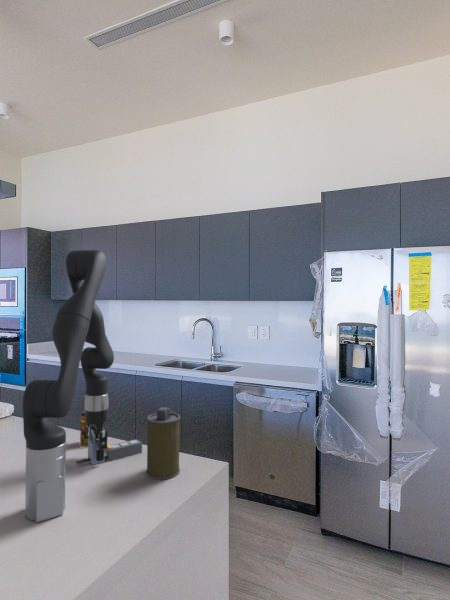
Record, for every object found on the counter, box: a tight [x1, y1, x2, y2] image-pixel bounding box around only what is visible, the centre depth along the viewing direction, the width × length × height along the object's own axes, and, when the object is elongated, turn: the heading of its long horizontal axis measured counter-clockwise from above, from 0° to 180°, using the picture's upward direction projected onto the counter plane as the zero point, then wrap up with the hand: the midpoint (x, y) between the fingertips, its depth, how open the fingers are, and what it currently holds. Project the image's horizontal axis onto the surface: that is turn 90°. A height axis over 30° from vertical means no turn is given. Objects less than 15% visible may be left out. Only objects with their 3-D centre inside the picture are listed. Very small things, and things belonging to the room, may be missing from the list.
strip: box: [104, 439, 143, 462], centre depth 133 cm, size 4×12×4 cm, turn 128°
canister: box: [145, 406, 181, 480], centre depth 120 cm, size 11×10×20 cm
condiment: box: [76, 410, 88, 449], centre depth 144 cm, size 7×8×12 cm
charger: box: [75, 438, 107, 465], centre depth 126 cm, size 4×10×7 cm, turn 128°
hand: (96, 456), depth 127 cm, fingers open, 7 cm apart
